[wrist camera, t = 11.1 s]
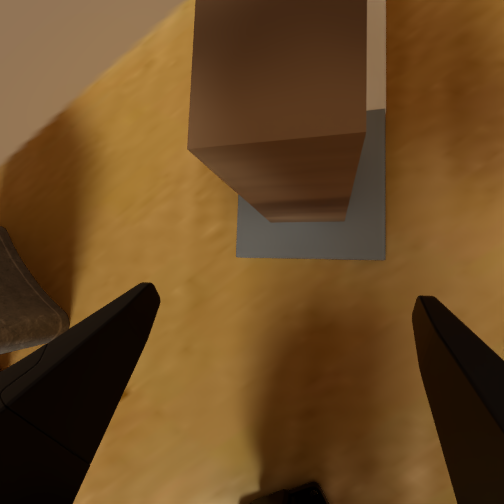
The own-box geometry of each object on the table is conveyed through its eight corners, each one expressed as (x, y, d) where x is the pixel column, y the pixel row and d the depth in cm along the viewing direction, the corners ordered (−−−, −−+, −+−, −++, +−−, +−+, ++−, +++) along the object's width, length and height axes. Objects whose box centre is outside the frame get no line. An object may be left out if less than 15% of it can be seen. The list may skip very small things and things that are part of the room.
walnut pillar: (344, 221, 18) (365, 132, 7) (270, 222, 20) (187, 149, 8) (345, 148, 19) (367, -51, 7) (272, 154, 20) (195, -6, 9)
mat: (383, 260, 18) (385, 259, 18) (238, 257, 21) (236, 256, 20) (383, 113, 19) (385, 108, 18) (243, 129, 22) (241, 125, 21)
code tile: (385, 115, 19) (386, 111, 19) (244, 130, 22) (242, 128, 21) (384, -21, 20) (385, -27, 19) (249, 11, 22) (247, 6, 22)
